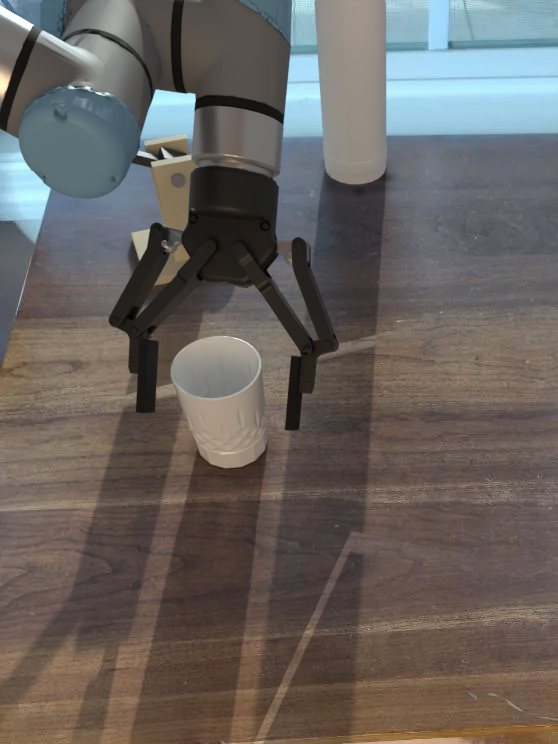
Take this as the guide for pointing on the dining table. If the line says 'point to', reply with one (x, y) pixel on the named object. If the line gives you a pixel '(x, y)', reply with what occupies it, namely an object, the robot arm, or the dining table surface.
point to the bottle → (352, 87)
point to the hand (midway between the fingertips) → (218, 421)
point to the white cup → (222, 399)
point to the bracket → (169, 198)
